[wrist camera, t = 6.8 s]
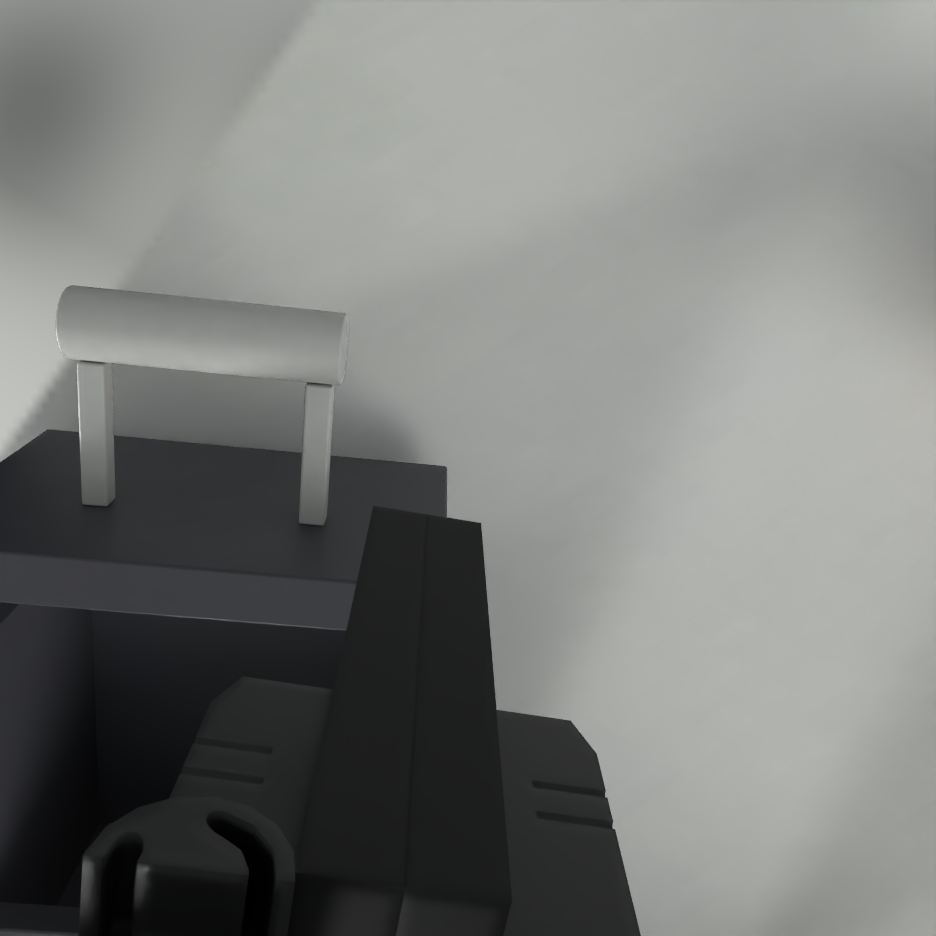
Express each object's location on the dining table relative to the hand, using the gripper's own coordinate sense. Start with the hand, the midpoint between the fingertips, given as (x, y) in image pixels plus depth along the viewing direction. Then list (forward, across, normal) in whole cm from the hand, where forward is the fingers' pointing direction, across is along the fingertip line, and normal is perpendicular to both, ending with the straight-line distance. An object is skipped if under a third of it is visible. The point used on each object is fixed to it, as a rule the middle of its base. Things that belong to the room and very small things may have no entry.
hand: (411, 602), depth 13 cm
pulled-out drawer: (+13, -4, -7) cm, 16 cm away
